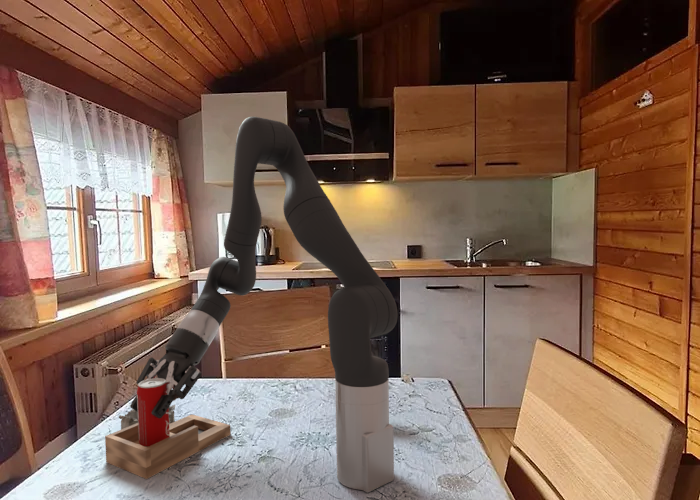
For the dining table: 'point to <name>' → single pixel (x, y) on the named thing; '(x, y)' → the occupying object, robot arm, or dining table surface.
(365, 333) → the robot arm
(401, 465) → the dining table surface
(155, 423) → the soda can
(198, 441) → the two-compartment wooden tray
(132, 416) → the grey piece
